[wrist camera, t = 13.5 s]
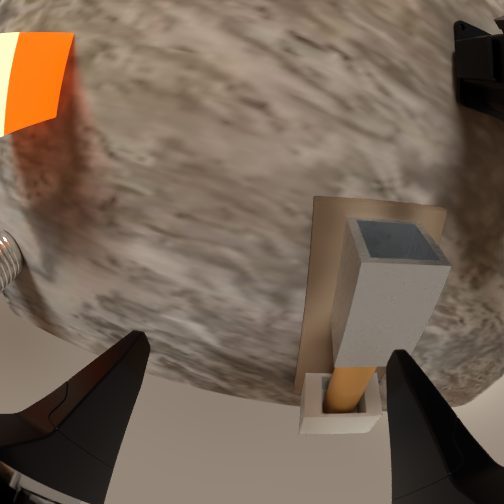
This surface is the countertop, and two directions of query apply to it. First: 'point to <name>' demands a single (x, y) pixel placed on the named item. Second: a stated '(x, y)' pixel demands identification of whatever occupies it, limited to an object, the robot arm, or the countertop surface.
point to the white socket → (322, 423)
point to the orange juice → (30, 77)
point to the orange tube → (346, 389)
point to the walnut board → (327, 265)
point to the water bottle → (9, 259)
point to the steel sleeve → (384, 289)
